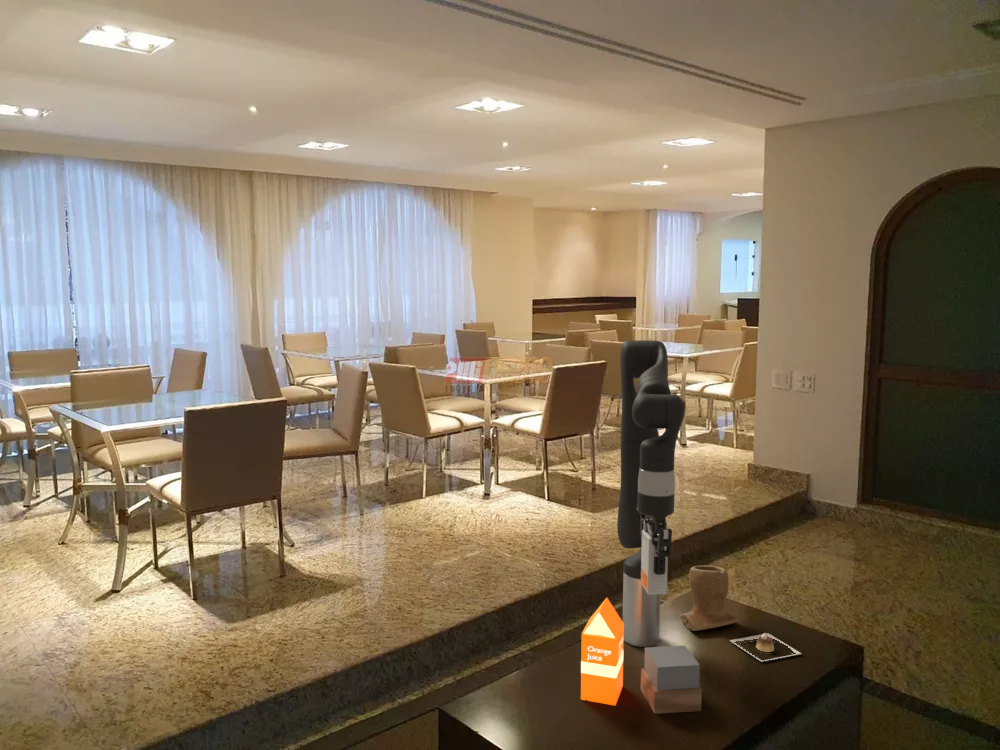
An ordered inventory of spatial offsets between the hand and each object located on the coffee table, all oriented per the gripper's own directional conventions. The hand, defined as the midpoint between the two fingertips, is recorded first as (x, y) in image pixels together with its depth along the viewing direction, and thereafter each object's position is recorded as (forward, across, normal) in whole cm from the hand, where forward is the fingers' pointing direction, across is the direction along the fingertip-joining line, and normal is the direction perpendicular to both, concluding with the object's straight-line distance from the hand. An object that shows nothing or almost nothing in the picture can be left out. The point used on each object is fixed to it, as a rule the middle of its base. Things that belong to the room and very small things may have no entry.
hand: (654, 567), depth 160 cm
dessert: (+30, +20, -35) cm, 51 cm away
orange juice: (+30, +4, +10) cm, 31 cm away
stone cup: (+30, +36, -26) cm, 54 cm away
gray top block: (+24, 0, -4) cm, 25 cm away
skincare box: (+5, 0, 0) cm, 5 cm away
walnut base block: (+29, 0, -4) cm, 30 cm away
